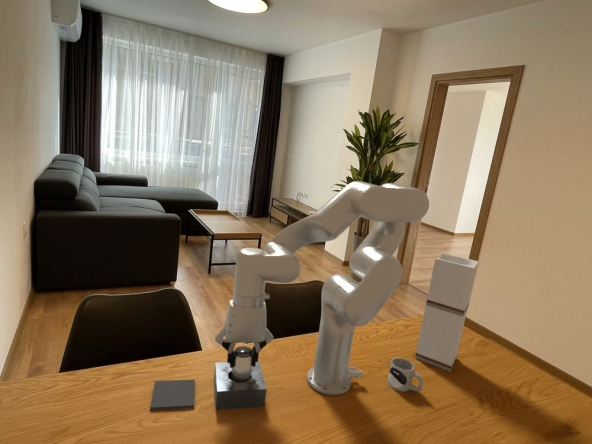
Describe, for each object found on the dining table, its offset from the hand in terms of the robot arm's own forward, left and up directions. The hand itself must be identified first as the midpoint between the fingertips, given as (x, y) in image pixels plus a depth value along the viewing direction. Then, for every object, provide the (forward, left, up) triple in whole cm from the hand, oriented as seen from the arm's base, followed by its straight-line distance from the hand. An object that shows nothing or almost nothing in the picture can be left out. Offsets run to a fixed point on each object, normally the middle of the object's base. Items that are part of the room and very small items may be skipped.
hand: (242, 363), depth 97 cm
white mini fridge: (-68, -13, -9) cm, 69 cm away
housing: (0, 0, -8) cm, 8 cm away
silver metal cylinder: (0, 0, -6) cm, 6 cm away
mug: (-48, +1, -9) cm, 48 cm away
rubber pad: (+16, 0, -8) cm, 18 cm away
